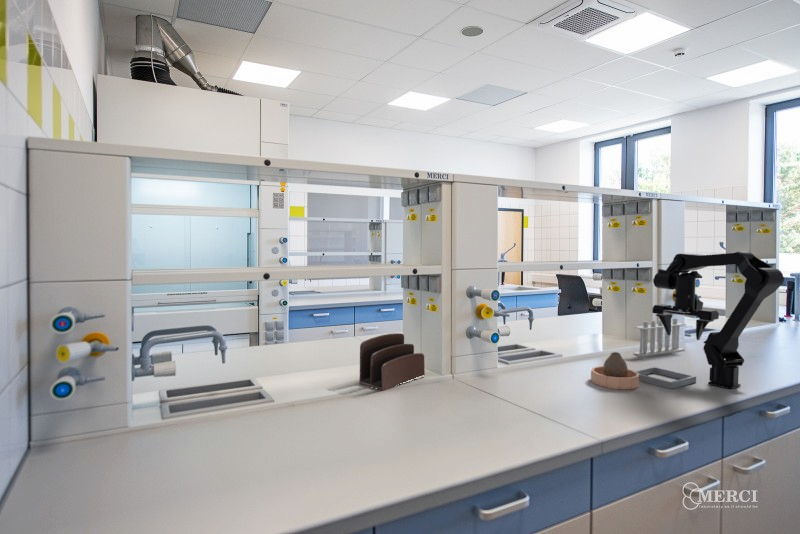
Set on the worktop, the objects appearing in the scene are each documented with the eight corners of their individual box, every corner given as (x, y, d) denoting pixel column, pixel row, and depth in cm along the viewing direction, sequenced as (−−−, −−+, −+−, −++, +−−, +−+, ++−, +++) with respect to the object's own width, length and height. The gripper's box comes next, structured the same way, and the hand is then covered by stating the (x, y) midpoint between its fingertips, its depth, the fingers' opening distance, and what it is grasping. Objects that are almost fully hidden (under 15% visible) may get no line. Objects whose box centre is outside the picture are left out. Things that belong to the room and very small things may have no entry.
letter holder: (358, 384, 146) (358, 339, 145) (402, 371, 161) (402, 330, 160) (382, 391, 139) (382, 344, 138) (425, 377, 154) (425, 334, 153)
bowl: (647, 384, 147) (648, 374, 147) (621, 392, 140) (621, 380, 139) (608, 374, 158) (608, 364, 158) (582, 380, 151) (582, 369, 151)
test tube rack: (643, 357, 183) (644, 322, 182) (633, 354, 187) (634, 321, 186) (684, 350, 194) (686, 318, 193) (674, 348, 198) (675, 317, 197)
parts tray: (695, 382, 150) (696, 376, 150) (672, 388, 143) (672, 383, 143) (653, 371, 162) (653, 366, 161) (629, 377, 154) (629, 372, 154)
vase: (598, 378, 151) (598, 351, 150) (615, 376, 153) (615, 349, 153) (614, 385, 144) (615, 356, 144) (632, 382, 147) (633, 354, 146)
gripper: (727, 292, 156) (725, 339, 157) (668, 287, 171) (667, 330, 172) (711, 294, 150) (709, 343, 151) (652, 289, 165) (650, 333, 166)
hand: (683, 337), depth 160 cm, fingers open, 9 cm apart
